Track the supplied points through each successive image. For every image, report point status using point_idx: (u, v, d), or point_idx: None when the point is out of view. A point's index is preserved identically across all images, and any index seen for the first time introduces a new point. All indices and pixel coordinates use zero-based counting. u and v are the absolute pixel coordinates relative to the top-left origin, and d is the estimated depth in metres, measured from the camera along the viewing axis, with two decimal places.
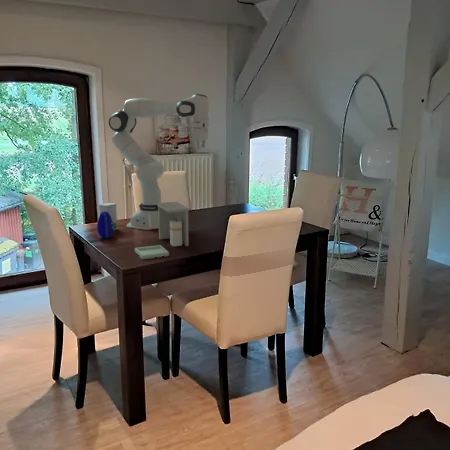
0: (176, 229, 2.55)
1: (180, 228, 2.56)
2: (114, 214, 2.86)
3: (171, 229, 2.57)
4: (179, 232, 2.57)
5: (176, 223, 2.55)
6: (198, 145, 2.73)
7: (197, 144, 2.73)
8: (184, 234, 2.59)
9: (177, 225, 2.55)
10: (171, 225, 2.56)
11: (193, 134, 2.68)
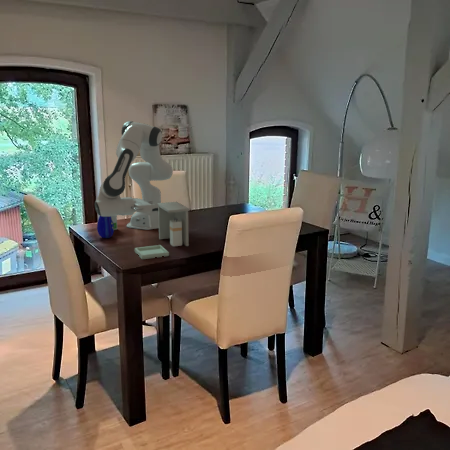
0: (176, 229, 2.55)
1: (180, 228, 2.56)
2: None
3: (171, 229, 2.57)
4: (179, 232, 2.57)
5: (176, 223, 2.55)
6: None
7: None
8: (184, 234, 2.59)
9: (177, 225, 2.55)
10: (171, 225, 2.56)
11: None
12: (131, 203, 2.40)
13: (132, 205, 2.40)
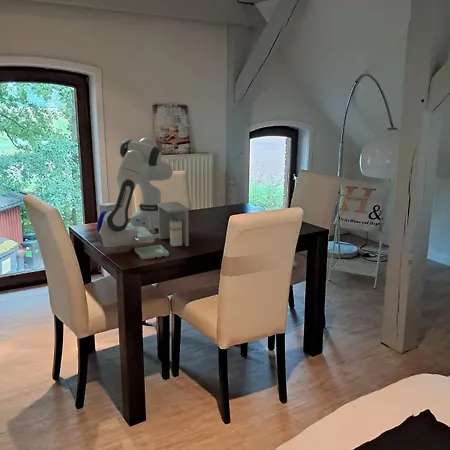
0: (176, 229, 2.55)
1: (180, 228, 2.56)
2: None
3: (171, 229, 2.57)
4: (179, 232, 2.57)
5: (176, 223, 2.55)
6: None
7: None
8: (184, 234, 2.59)
9: (177, 225, 2.55)
10: (171, 225, 2.56)
11: None
12: (133, 234, 2.45)
13: (134, 236, 2.45)
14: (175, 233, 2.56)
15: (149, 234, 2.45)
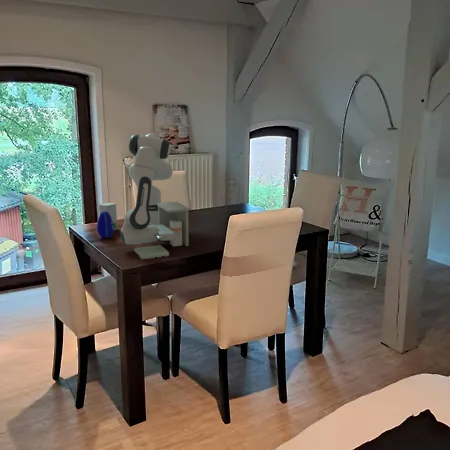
0: (176, 229, 2.55)
1: (180, 228, 2.56)
2: (114, 214, 2.86)
3: (171, 229, 2.57)
4: None
5: (176, 223, 2.55)
6: None
7: None
8: (184, 234, 2.59)
9: (177, 225, 2.55)
10: (171, 225, 2.56)
11: None
12: (154, 231, 2.49)
13: (155, 233, 2.49)
14: None
15: (170, 231, 2.49)
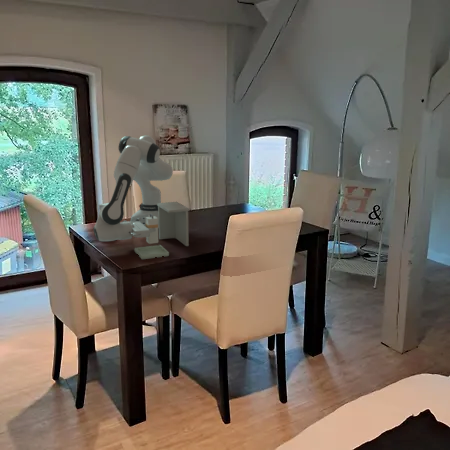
0: (152, 226, 2.49)
1: (156, 225, 2.50)
2: None
3: (147, 226, 2.51)
4: None
5: (152, 220, 2.49)
6: None
7: None
8: (184, 234, 2.59)
9: (152, 222, 2.49)
10: (147, 222, 2.50)
11: None
12: (129, 228, 2.43)
13: (130, 230, 2.43)
14: None
15: (145, 228, 2.43)
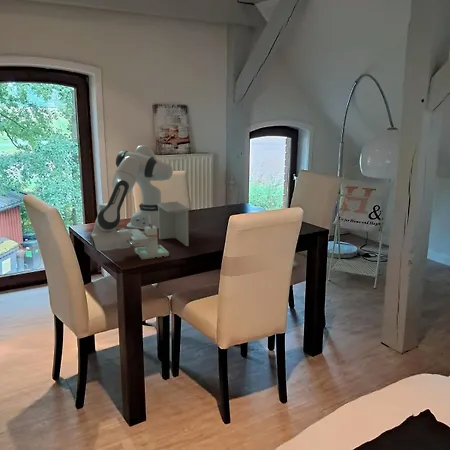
0: None
1: (155, 235, 2.41)
2: None
3: (146, 236, 2.41)
4: None
5: (151, 230, 2.39)
6: None
7: None
8: (184, 234, 2.59)
9: (151, 231, 2.39)
10: (146, 232, 2.40)
11: None
12: (127, 236, 2.33)
13: (128, 238, 2.33)
14: None
15: (144, 237, 2.33)
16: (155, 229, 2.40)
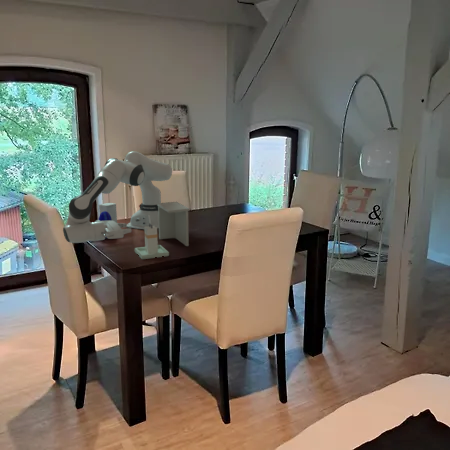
0: (151, 236, 2.40)
1: (155, 235, 2.41)
2: (114, 214, 2.86)
3: (146, 236, 2.41)
4: (154, 239, 2.41)
5: (151, 230, 2.39)
6: None
7: None
8: (184, 234, 2.59)
9: (151, 231, 2.39)
10: (146, 232, 2.40)
11: None
12: (101, 228, 2.28)
13: (103, 230, 2.28)
14: (150, 240, 2.40)
15: (118, 229, 2.28)
16: (155, 229, 2.40)
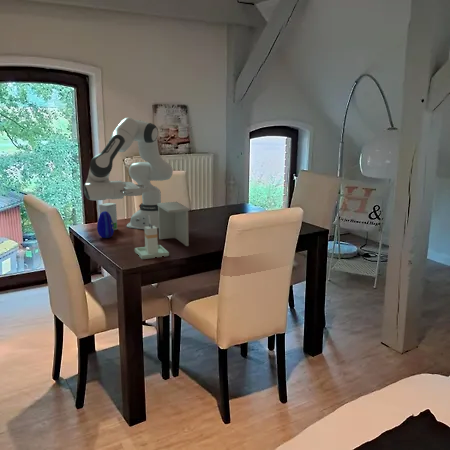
0: (151, 236, 2.40)
1: (155, 235, 2.41)
2: (114, 214, 2.86)
3: (146, 236, 2.41)
4: (154, 239, 2.41)
5: (151, 230, 2.39)
6: None
7: None
8: (184, 234, 2.59)
9: (151, 231, 2.39)
10: (146, 232, 2.40)
11: None
12: (120, 187, 2.34)
13: (122, 189, 2.34)
14: (150, 240, 2.40)
15: (137, 187, 2.34)
16: (155, 229, 2.40)
